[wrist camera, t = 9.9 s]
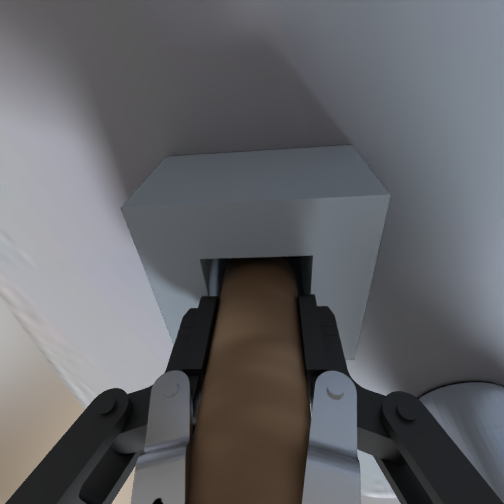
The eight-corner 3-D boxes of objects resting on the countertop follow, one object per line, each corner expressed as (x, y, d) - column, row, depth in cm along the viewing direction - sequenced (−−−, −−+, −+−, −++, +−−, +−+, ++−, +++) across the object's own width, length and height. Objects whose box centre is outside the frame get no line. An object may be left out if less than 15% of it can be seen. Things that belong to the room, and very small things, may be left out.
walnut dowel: (296, 246, 14) (333, 546, 6) (295, 300, 16) (321, 574, 8) (220, 248, 14) (152, 536, 6) (229, 301, 16) (188, 565, 8)
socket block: (352, 144, 15) (391, 194, 10) (334, 285, 21) (354, 359, 16) (166, 156, 16) (120, 207, 11) (199, 288, 22) (179, 360, 17)
